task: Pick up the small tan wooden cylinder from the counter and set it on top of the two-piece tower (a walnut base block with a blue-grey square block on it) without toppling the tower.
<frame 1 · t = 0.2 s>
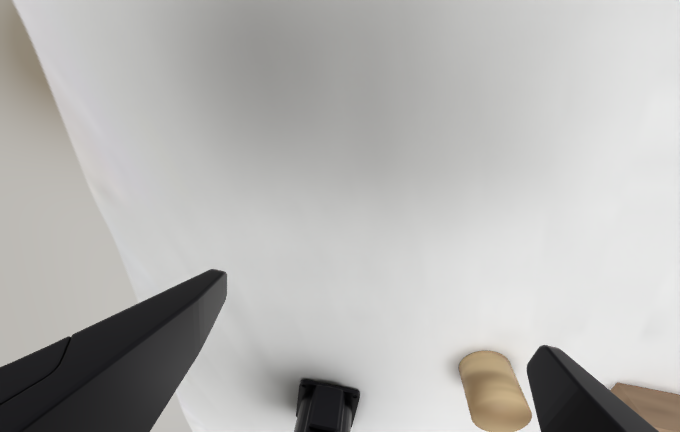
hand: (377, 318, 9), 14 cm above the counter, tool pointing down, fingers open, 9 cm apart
walnut base block: (632, 410, 29), on the counter, touching blue-grey square block
tan wooden cylinder: (484, 367, 29), on the counter
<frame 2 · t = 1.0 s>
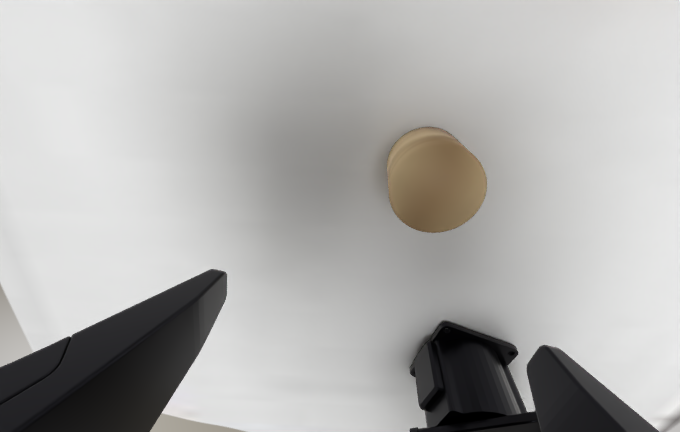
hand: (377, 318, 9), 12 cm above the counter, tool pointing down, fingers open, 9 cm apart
tan wooden cylinder: (424, 164, 19), on the counter
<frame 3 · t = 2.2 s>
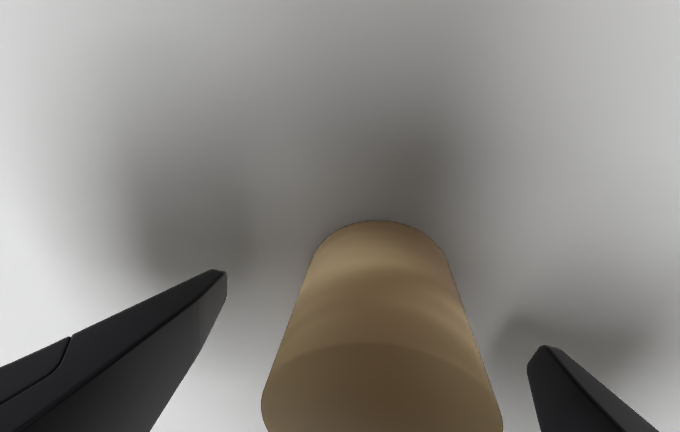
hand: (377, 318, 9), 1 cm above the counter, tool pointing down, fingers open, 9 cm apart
tan wooden cylinder: (377, 282, 10), on the counter
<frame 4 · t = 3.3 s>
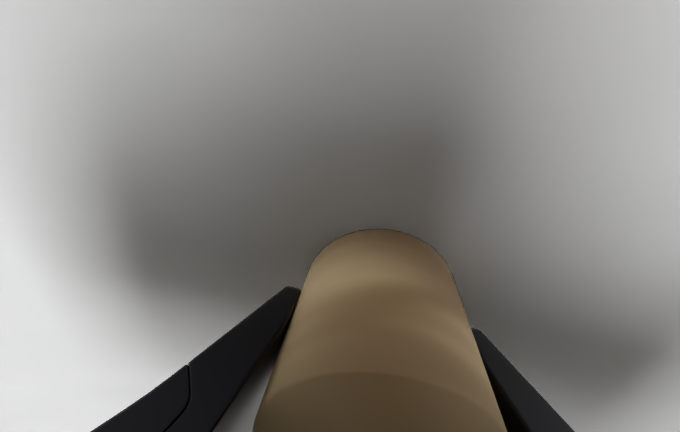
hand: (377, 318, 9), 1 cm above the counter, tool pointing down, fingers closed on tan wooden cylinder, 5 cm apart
tan wooden cylinder: (378, 293, 9), on the counter, touching gripper
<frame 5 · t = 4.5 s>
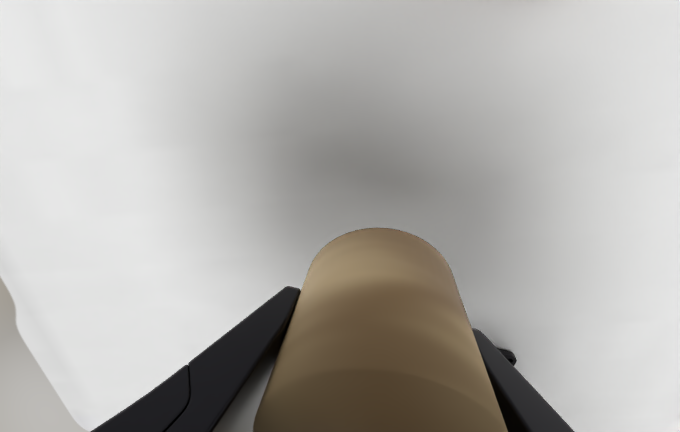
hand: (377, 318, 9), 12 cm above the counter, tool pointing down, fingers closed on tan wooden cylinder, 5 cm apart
tan wooden cylinder: (378, 292, 9), point 10 cm above the counter, touching gripper
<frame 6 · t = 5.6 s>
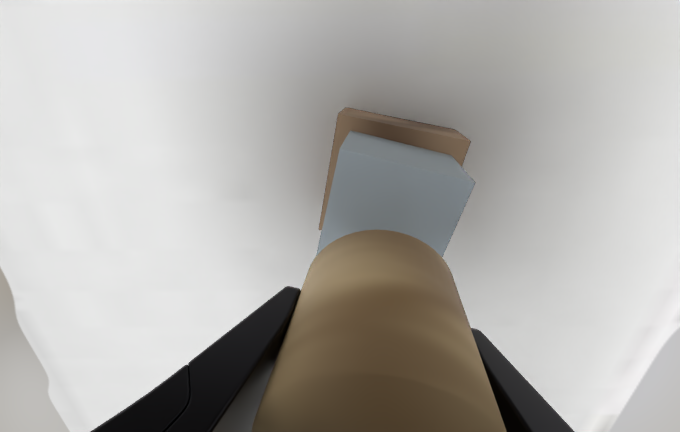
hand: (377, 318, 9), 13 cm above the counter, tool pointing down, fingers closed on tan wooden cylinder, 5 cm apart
walnut base block: (386, 169, 21), on the counter
tan wooden cylinder: (377, 294, 9), point 12 cm above the counter, touching gripper
blue-grey square block: (386, 190, 17), point 4 cm above the counter
when the fingers open (10 cm above the counter, at t = 7.0 s): tan wooden cylinder drops 1 cm, resting on blue-grey square block.
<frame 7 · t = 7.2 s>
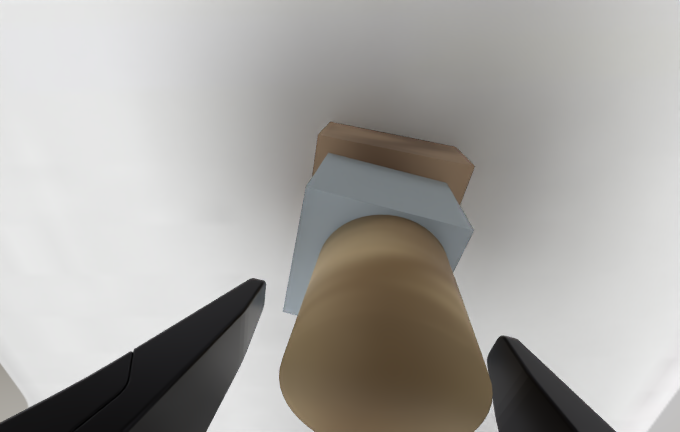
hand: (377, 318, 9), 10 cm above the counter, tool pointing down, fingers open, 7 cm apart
walnut base block: (378, 190, 18), on the counter
tan wooden cylinder: (381, 273, 11), point 8 cm above the counter, touching blue-grey square block
blue-grey square block: (371, 220, 15), point 4 cm above the counter, touching tan wooden cylinder
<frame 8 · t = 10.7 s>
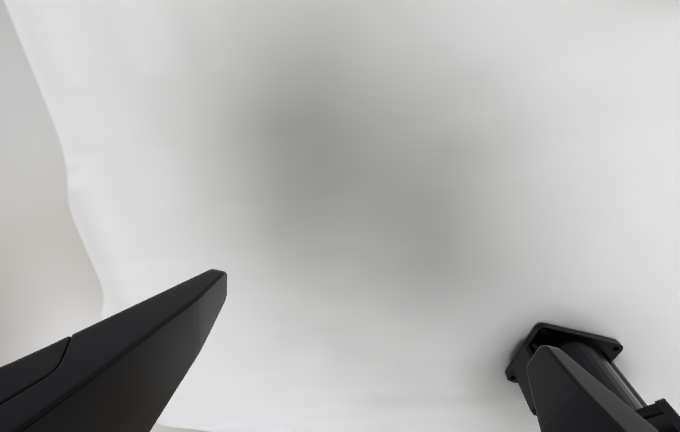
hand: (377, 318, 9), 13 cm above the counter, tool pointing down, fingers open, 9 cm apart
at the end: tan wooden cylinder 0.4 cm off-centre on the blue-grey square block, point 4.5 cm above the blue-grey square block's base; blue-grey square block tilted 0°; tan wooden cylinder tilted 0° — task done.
